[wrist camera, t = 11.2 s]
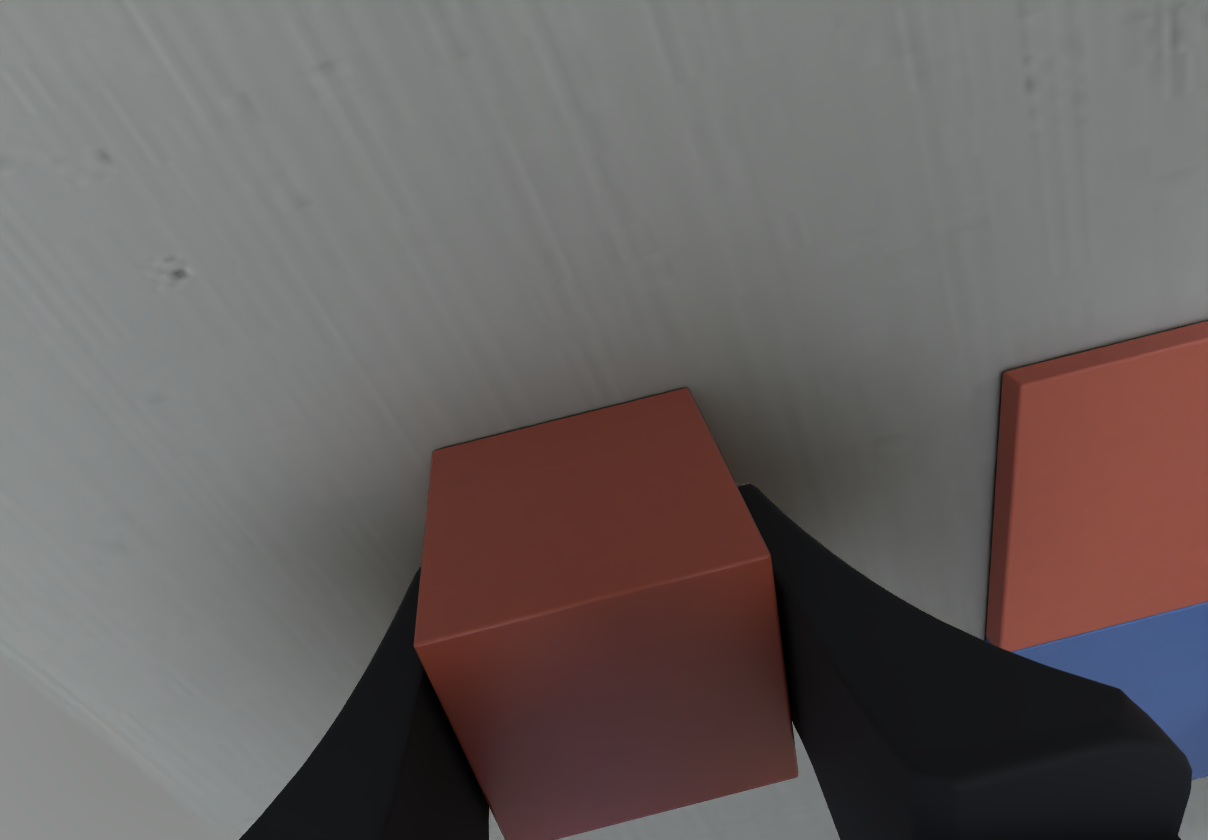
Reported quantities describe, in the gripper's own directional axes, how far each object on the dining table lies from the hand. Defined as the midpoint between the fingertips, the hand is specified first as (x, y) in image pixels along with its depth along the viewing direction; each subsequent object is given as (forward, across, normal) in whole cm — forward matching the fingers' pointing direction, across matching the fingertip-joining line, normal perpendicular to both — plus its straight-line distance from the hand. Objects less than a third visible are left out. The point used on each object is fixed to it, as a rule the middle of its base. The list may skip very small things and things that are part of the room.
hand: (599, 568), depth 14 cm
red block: (+1, 0, 0) cm, 1 cm away
